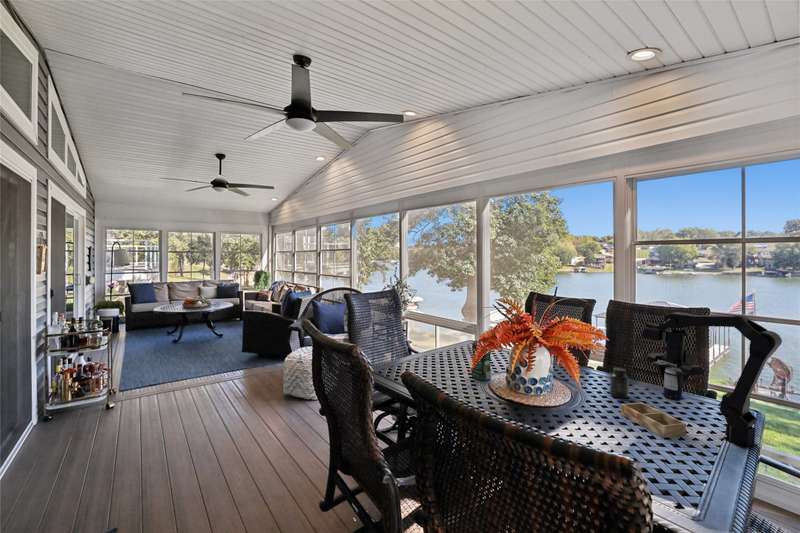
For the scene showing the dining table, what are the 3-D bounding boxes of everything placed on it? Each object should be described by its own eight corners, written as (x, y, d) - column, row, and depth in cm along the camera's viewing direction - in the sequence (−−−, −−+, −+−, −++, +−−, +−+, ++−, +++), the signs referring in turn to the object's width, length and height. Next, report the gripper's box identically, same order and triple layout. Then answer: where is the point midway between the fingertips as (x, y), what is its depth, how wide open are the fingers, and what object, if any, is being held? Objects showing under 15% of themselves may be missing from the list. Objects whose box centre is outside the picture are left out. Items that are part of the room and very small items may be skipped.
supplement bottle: (608, 391, 167) (609, 365, 166) (625, 393, 164) (626, 367, 164) (611, 397, 160) (612, 370, 160) (629, 399, 158) (630, 372, 157)
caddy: (686, 434, 128) (687, 423, 128) (662, 437, 126) (663, 426, 126) (641, 412, 146) (642, 402, 146) (620, 414, 144) (620, 404, 144)
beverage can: (684, 403, 137) (686, 372, 136) (667, 402, 138) (669, 371, 137) (676, 397, 142) (678, 367, 142) (660, 396, 144) (661, 366, 143)
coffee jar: (468, 376, 186) (469, 340, 185) (480, 373, 190) (480, 338, 189) (481, 382, 177) (482, 344, 176) (493, 379, 181) (494, 342, 180)
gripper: (717, 351, 132) (715, 393, 132) (669, 338, 150) (667, 375, 151) (692, 352, 129) (690, 395, 130) (646, 339, 148) (645, 377, 148)
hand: (672, 385), depth 140 cm, fingers closed on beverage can, 6 cm apart
